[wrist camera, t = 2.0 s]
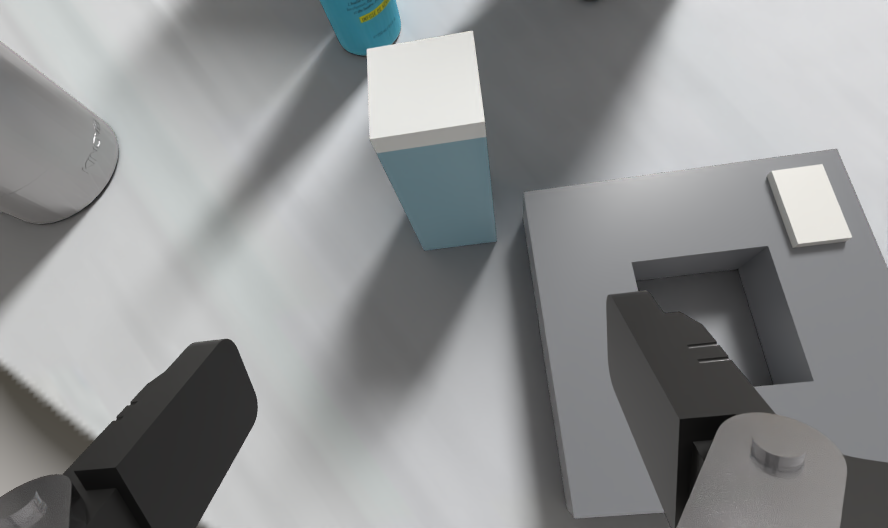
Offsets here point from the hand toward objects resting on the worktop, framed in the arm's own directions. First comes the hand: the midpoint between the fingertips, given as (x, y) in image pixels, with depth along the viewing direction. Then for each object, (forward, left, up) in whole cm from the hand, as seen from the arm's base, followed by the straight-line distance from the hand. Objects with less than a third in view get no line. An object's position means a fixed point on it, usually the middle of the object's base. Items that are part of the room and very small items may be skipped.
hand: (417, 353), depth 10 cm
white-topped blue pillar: (0, +12, -17) cm, 21 cm away
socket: (+12, +3, -17) cm, 21 cm away
